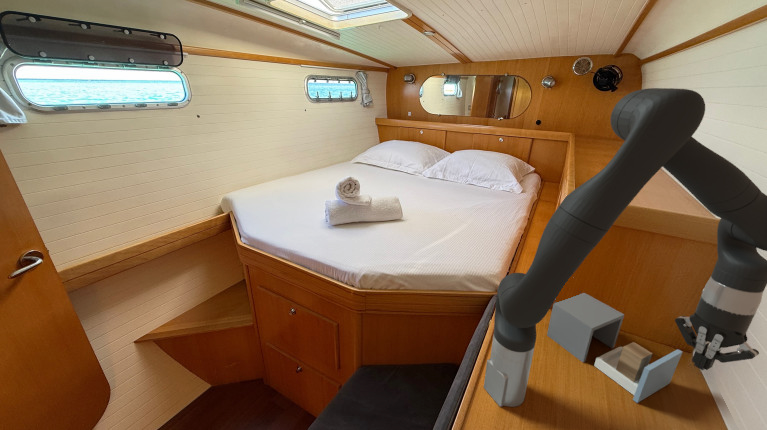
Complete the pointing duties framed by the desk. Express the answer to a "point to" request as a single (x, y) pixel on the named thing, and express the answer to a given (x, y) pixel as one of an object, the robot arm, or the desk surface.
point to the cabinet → (583, 324)
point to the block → (633, 361)
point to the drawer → (651, 377)
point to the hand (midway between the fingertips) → (700, 366)
